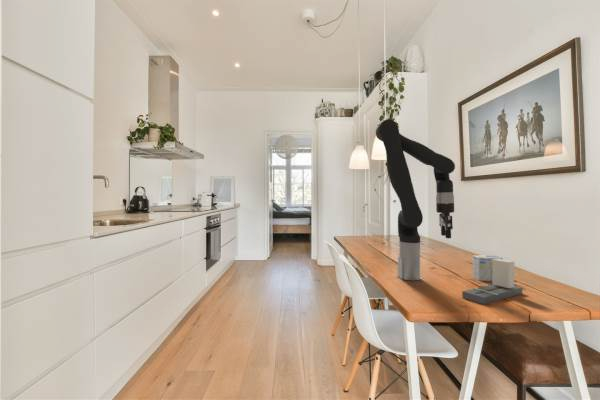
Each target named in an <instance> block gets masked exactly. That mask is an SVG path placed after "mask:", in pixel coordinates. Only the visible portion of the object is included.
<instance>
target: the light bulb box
mask: <svg viewBox="0 0 600 400" xmlns="http://www.w3.org/2000/svg"><path fill="white" fill-rule="evenodd" d="M493 259H503V260H504V258H503V257H500V256H497V255H481V254H480V255H474V254H473V255H472V278H473V279H476V280H477V281H480V282H481V281H482V282H485V281H486V282H492V271H493Z"/></svg>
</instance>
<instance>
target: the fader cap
mask: <svg viewBox="0 0 600 400" xmlns="http://www.w3.org/2000/svg"><path fill="white" fill-rule="evenodd" d="M491 284H493V285H497V286H501V287H505V288H512V287H514V286H515V261H512V260H509V259H504V258H503V259H493V271H492V281H491Z"/></svg>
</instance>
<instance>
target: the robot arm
mask: <svg viewBox="0 0 600 400" xmlns="http://www.w3.org/2000/svg"><path fill="white" fill-rule="evenodd" d="M375 135H376V138H377V139H378V140H379V141H380V142H382V143H383V145H384V148H385V154H386V155H385V156H386V169H387V174H388V179H389V182H390V184H391V187H392V188H393V190H394V192H395V194H396V196H397V198H398V200H399V203H400V208H401V210H400V211H399V212H398V216H397V233H398V237H399V245H398V246H399V251H398V252H399V253H398V255H399V256H398V257H397V277H398V278H400V280H404V281H405V280H406V281H413V282H414V281H419V280H421V236H420V234H419V231H418V227H420V226H421V225H422V223H423V221H424V220H423V219H424V217H423V213H422V209H421V207H420V206H419V203H418V200H417V198H416V197H417V196H416V194H415V189H414V185H413V182H412V177H411V173H410V170H409V165H408V163H407V159H406V156H405V154H408V155H410V156H411V157H413V158H414V159H416V160H417V161H419V162H420V163H422V164H424V165H426V166H431V167H432V168H433V175H434V179H435V182H436V185H435V186H436V196H435V201H436V203H435V206H436V207H435V209H436V213H438V215H439V226H440V227H439V228H440V235H441V236H443V237H445V238H446V239H452V230H454V229H453V228H454V227H453V215H450V214H451V213H454V212H455V194H454V182H453V180H451V179H450V174H451V173H454V171H455V169H456V164H455V162H454V161H453V160H452V159H451V158H450V157H448V156H445V155H443V154H440V153H437V152H436V151H434V150H433V149H431V148H429V146H428V147H427V146H426V145H425V144H422V143H421V142H418V141H417V140H416V141H415V140H414V139H410V138H408V137H406V136H404V135H402V134H401V133H400V129H399V125H398V124H397V122H396V121H395V120H394V119H391V118H386V119H383V121H381V122H380V123H379V124H378V126H377V127H376V129H375Z"/></svg>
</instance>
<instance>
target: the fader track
mask: <svg viewBox="0 0 600 400" xmlns="http://www.w3.org/2000/svg"><path fill="white" fill-rule="evenodd" d="M461 293H462V295H461V297H462V299H465V300H469V301H471V302H475V303H478V304H481V305H487V304H490V303H494V302H498V301H502V300H505V299H509V298H511V297H515V296H519V295H522V294H523V287H522V286H518V285H514V287H512V288H505V287H501V286H497V285H493V284H492V283H491V284H488V285H484V286H480V287H472V288H471V289H466V290H463V291H462V292H461Z"/></svg>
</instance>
